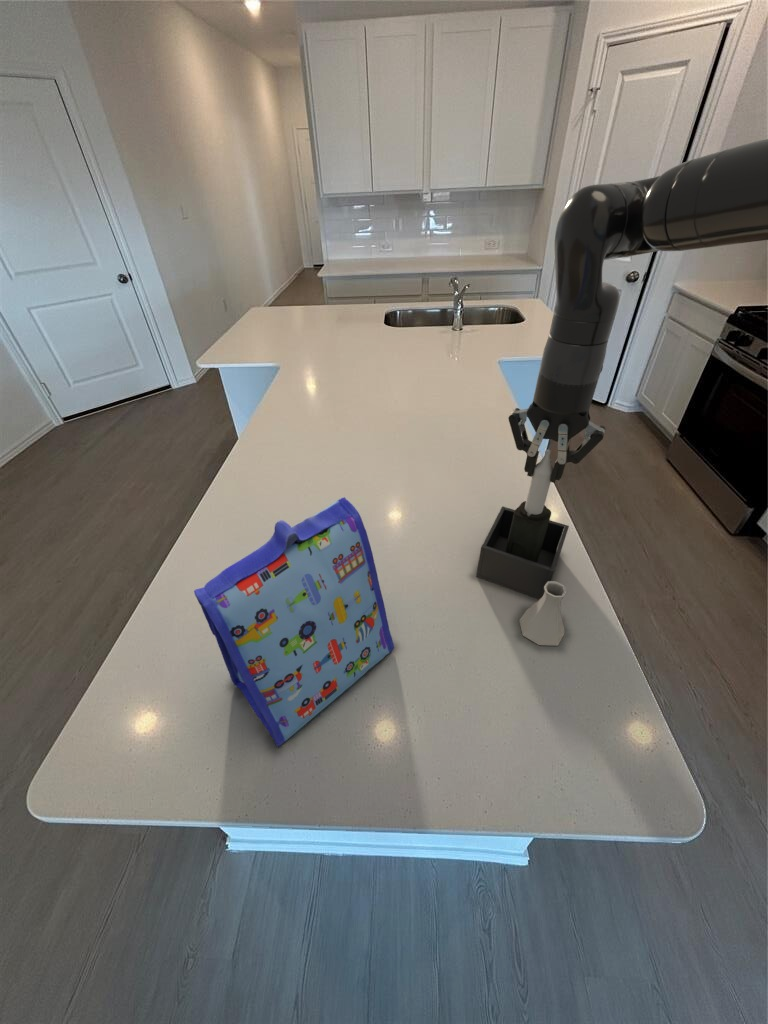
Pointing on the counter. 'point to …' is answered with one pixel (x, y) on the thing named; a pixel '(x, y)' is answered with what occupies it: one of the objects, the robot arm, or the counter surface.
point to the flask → (545, 617)
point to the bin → (519, 558)
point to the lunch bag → (300, 617)
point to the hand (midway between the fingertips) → (542, 476)
